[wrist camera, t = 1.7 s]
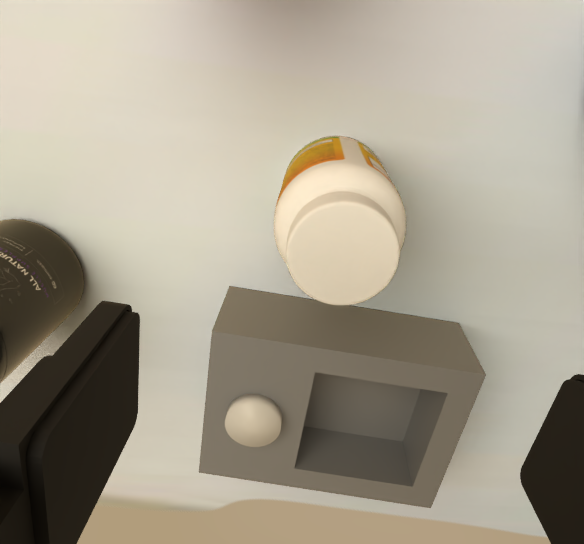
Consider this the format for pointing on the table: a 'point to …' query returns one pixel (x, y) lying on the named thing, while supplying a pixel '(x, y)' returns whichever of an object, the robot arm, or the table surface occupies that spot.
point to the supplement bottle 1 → (33, 288)
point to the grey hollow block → (335, 397)
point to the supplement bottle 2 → (339, 221)
